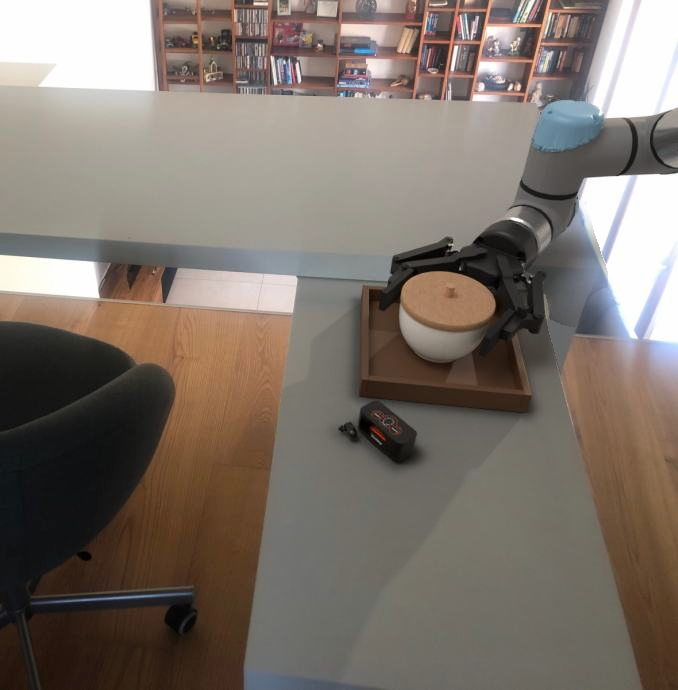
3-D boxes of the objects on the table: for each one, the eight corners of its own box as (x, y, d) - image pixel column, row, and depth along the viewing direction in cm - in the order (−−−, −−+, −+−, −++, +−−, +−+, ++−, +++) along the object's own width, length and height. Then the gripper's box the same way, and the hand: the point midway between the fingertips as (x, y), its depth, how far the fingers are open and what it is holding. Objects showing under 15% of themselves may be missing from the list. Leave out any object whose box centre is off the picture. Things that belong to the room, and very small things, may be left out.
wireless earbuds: (367, 414, 79) (371, 394, 77) (414, 454, 74) (419, 433, 72) (337, 432, 77) (339, 412, 75) (383, 474, 72) (387, 453, 70)
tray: (501, 312, 92) (507, 295, 90) (525, 413, 78) (532, 395, 77) (360, 301, 95) (362, 284, 93) (358, 396, 81) (361, 379, 79)
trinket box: (478, 325, 89) (496, 264, 83) (483, 382, 81) (503, 319, 75) (394, 315, 91) (404, 255, 85) (390, 369, 83) (401, 307, 77)
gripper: (594, 303, 88) (525, 394, 76) (422, 238, 101) (339, 307, 89) (615, 254, 84) (545, 342, 71) (431, 192, 96) (345, 258, 84)
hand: (431, 323), depth 80 cm, fingers open, 12 cm apart
